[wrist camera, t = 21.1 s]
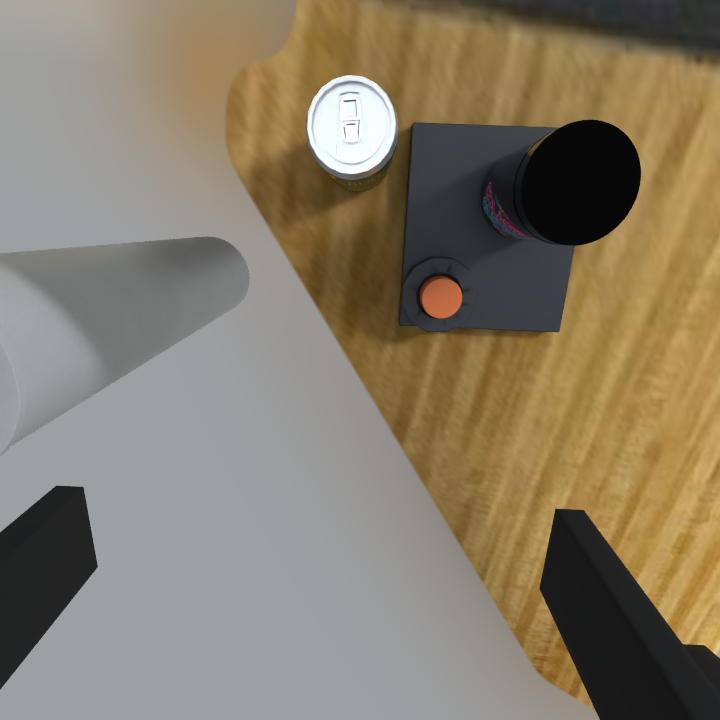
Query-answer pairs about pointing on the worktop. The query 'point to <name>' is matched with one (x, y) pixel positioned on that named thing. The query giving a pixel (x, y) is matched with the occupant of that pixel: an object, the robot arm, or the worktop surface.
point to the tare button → (440, 297)
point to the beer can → (353, 132)
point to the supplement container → (564, 185)
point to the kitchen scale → (474, 236)
